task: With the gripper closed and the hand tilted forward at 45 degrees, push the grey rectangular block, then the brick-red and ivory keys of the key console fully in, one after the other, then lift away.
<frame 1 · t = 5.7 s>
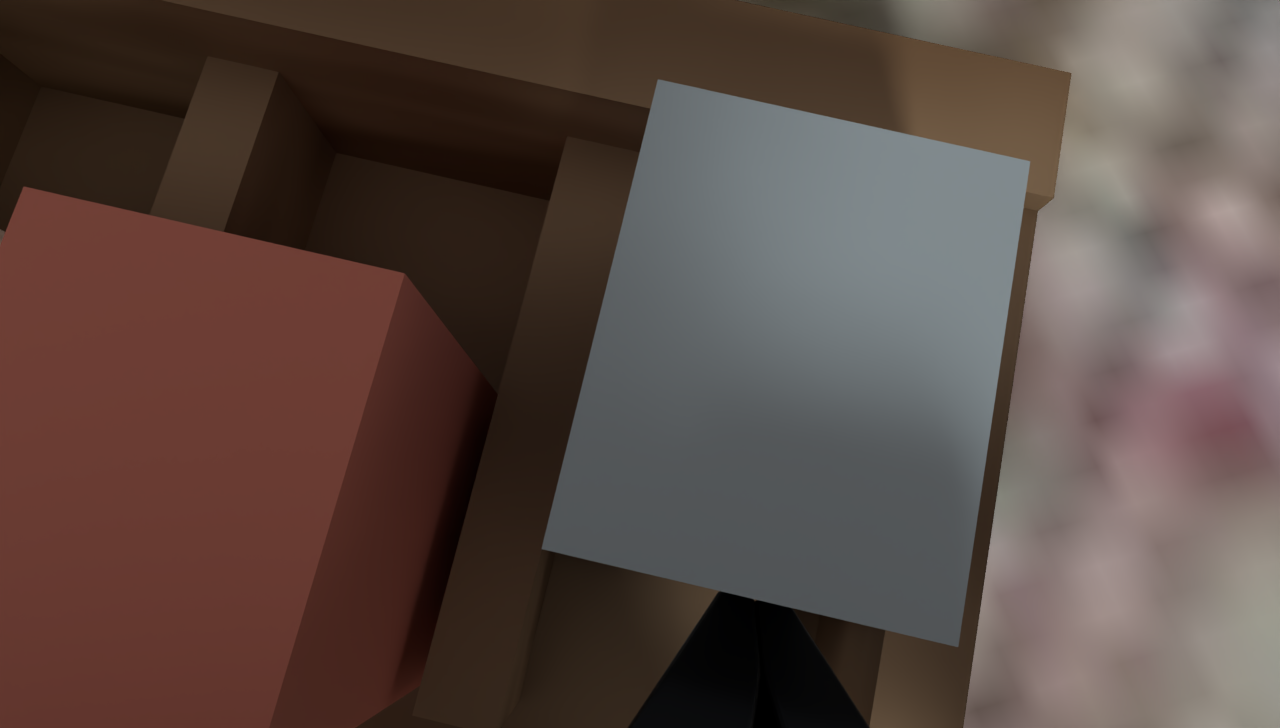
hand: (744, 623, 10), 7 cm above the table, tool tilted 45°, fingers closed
grey rectangular block: (746, 405, 13), point 5 cm above the table, slide at 2.7 cm, touching gripper
key console: (395, 464, 18), on the table
red key: (276, 496, 12), point 5 cm above the table, slide at 0.0 cm
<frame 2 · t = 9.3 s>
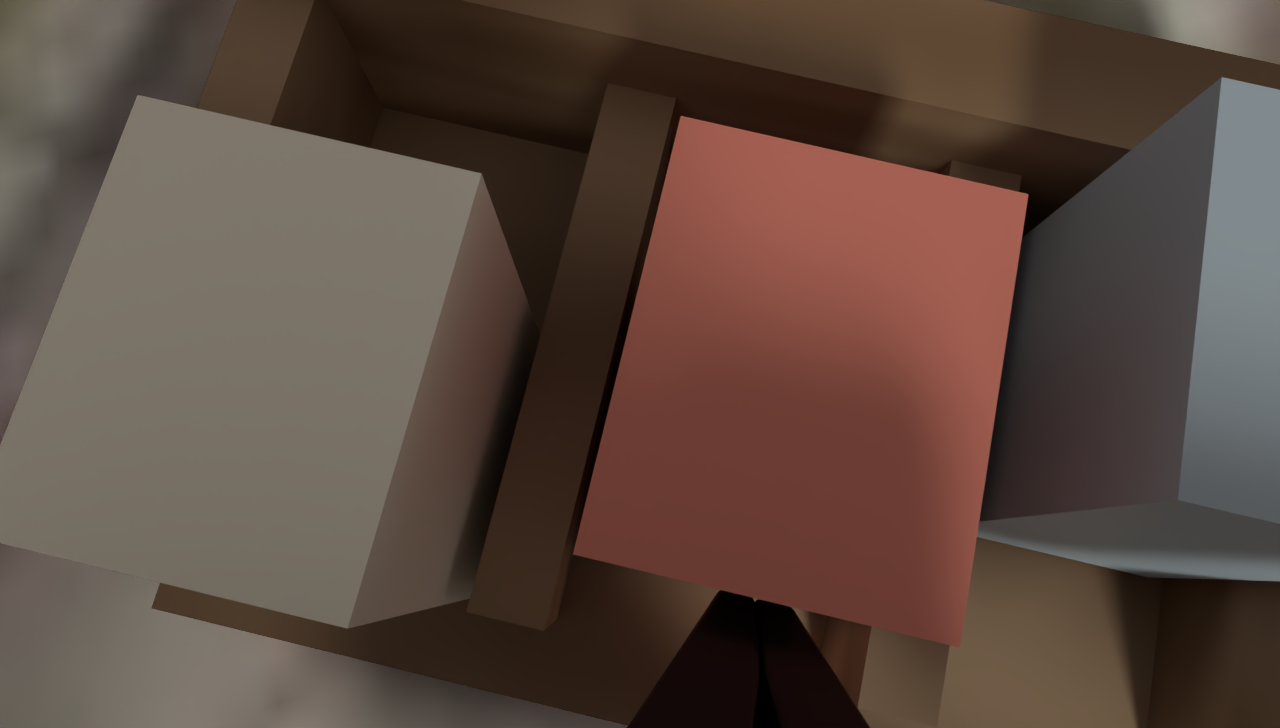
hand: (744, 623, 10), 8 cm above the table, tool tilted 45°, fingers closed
grey rectangular block: (1176, 383, 14), point 5 cm above the table, slide at 3.2 cm
white key: (343, 405, 13), point 5 cm above the table, slide at 0.0 cm
key console: (717, 469, 19), on the table
red key: (759, 419, 13), point 5 cm above the table, slide at 1.2 cm
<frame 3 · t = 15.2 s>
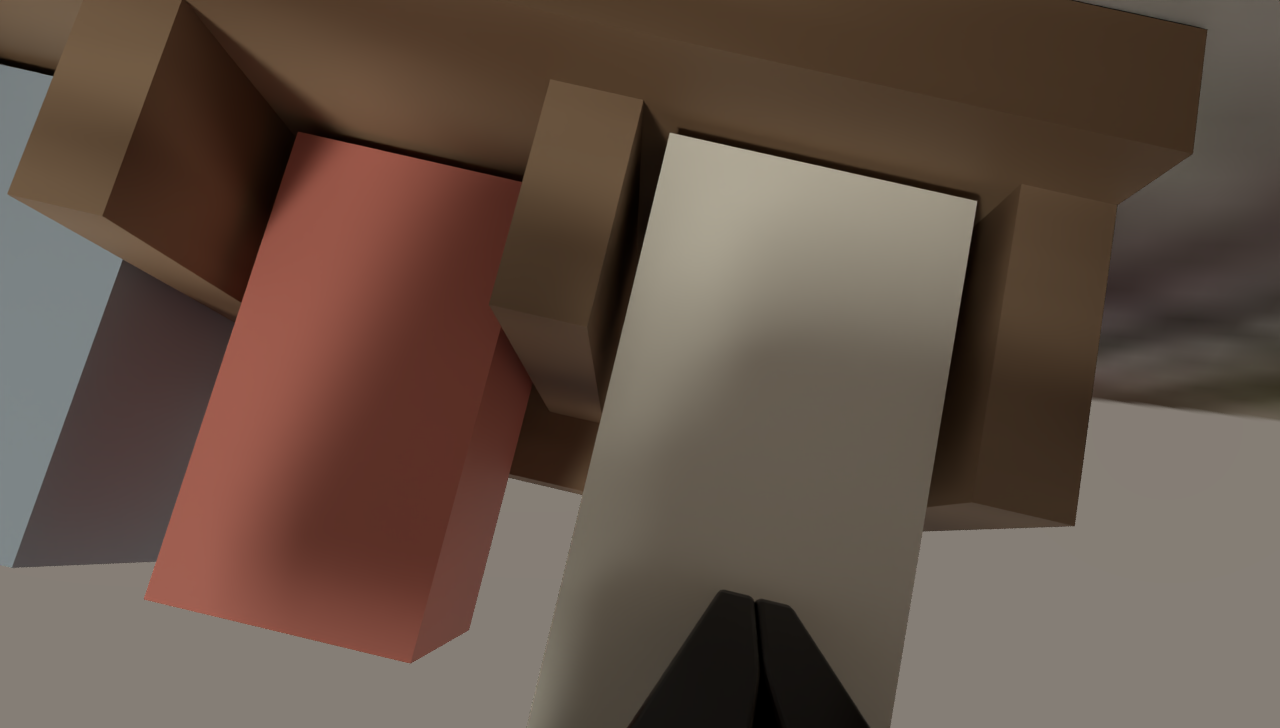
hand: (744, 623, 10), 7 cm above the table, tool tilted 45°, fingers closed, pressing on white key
grey rectangular block: (72, 332, 16), point 5 cm above the table, slide at 3.2 cm
white key: (738, 469, 13), point 5 cm above the table, slide at 0.3 cm, touching gripper
key console: (449, 73, 15), on the table
red key: (392, 406, 16), point 5 cm above the table, slide at 3.2 cm
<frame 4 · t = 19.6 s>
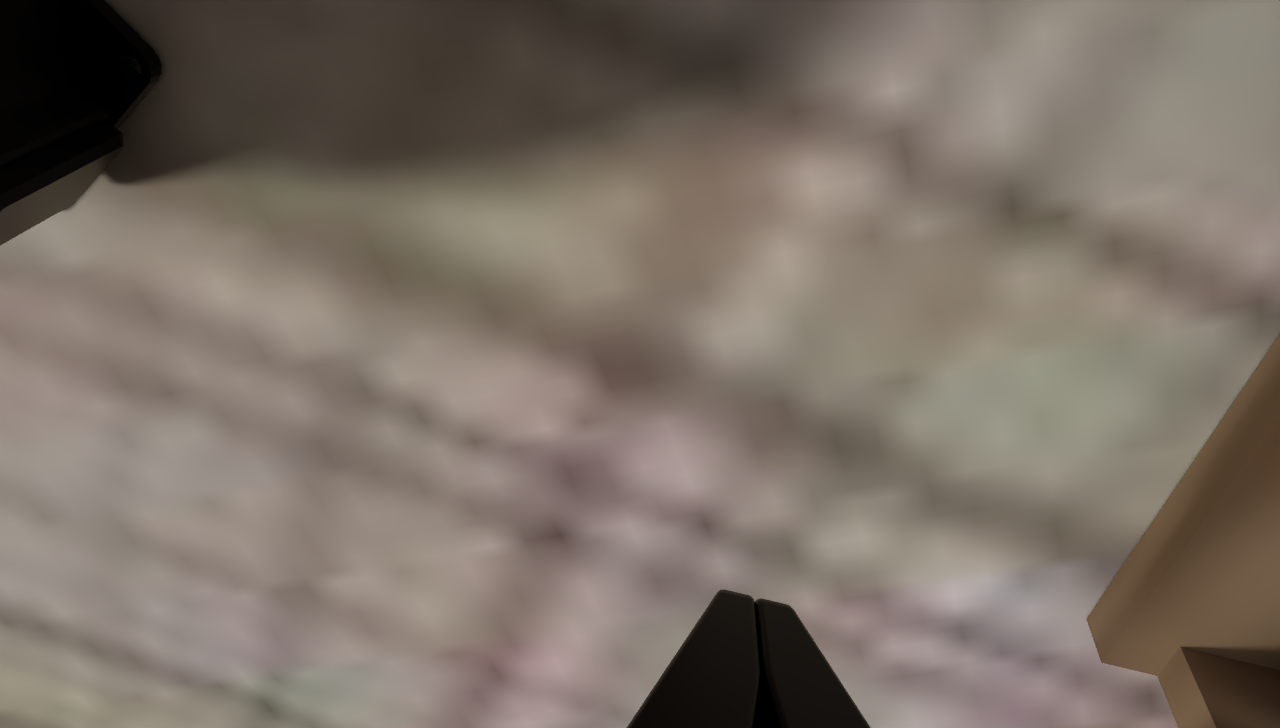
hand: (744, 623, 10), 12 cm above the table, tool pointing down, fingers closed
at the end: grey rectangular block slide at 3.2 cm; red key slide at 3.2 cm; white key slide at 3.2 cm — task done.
